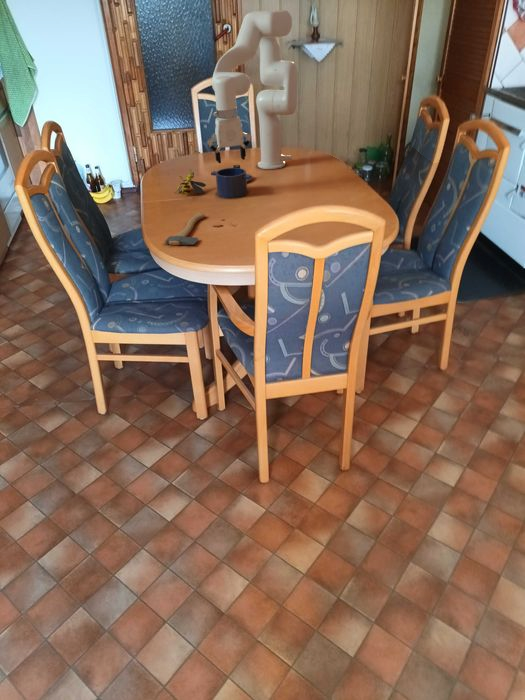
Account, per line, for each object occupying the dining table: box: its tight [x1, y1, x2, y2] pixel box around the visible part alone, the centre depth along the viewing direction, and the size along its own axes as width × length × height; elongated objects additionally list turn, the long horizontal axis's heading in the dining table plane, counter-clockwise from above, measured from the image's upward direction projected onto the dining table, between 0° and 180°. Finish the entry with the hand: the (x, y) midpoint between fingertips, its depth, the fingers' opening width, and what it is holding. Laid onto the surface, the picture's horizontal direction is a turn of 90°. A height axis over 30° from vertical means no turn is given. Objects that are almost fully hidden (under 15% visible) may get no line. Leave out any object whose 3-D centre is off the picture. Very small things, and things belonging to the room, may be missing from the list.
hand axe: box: [165, 212, 205, 246], centre depth 182 cm, size 27×2×10 cm
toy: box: [174, 169, 207, 196], centre depth 211 cm, size 12×8×15 cm
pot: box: [210, 167, 253, 199], centre depth 210 cm, size 12×17×8 cm
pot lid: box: [232, 164, 253, 183], centre depth 225 cm, size 13×13×6 cm
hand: (231, 160), depth 206 cm, fingers open, 9 cm apart
